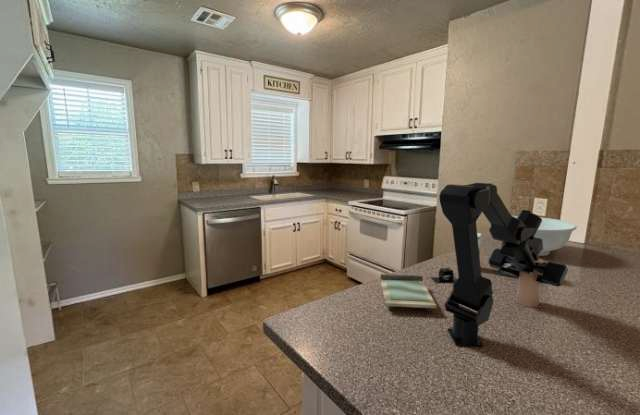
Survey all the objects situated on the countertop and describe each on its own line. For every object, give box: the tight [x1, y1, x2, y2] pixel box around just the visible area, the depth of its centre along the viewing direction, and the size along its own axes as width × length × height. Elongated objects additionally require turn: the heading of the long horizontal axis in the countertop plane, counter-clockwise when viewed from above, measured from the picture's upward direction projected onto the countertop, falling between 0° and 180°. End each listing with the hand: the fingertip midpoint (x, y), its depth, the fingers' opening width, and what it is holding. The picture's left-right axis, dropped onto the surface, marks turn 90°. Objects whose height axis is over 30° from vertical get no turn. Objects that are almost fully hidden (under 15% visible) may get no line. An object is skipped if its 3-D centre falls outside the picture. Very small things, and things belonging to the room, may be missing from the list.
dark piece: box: [430, 267, 458, 284], centre depth 109 cm, size 12×7×5 cm, turn 93°
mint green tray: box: [380, 273, 437, 313], centre depth 94 cm, size 18×14×4 cm
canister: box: [516, 258, 545, 308], centre depth 90 cm, size 6×6×14 cm
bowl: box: [512, 215, 578, 257], centre depth 140 cm, size 32×32×15 cm
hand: (531, 280), depth 91 cm, fingers closed on canister, 6 cm apart
